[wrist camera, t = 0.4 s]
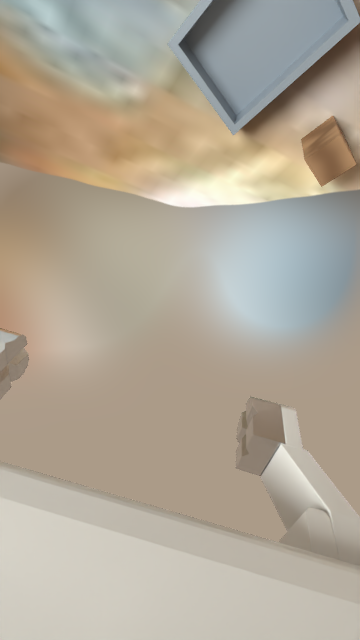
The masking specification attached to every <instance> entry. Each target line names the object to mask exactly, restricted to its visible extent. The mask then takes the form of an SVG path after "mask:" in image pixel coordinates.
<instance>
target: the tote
mask: <svg viewBox="0 0 360 640" xmlns="http://www.w3.org/2000/svg"><path fill="white" fill-rule="evenodd" d="M359 23H360V16H359V14H358V12H357V9H356V7H355V4H354V2H353V0H200V1H199V3H198V4H197V5H196V7H195V8H194V9H193V11H192V12H191V13H190V15H189V16H188V17H187V19H186V20H185V21H184V23H183V24H182V25H181V27H180V28H179V29H178V31H177V32H176V33H175V35H174V36H173V37H172V39H171V40H170V41H169V43H168V46H169V47H170V48H171V50H172V51H173V53H174V54H175V55H176V57H177V58H178V59H179V61H180V62H181V64H182V65H183V66H184V68H185V69H186V71H187V72H188V73H189V75H190V76H191V77H192V79H193V80H194V82H195V83H196V84H197V86H198V87H199V88H200V90H201V91H202V93H203V94H204V95H205V97H206V98H207V100H208V101H209V102H210V104H211V105H212V106H213V108H214V109H215V111H216V112H217V113H218V115H219V116H220V118H221V119H222V120H223V122H224V123H225V124H226V126H227V127H228V129H229V130H230V131H231V133H232V134H233V135H234V134H235V133H236V132H238V131H239V130H240V129H241V128H242V127H243V126H244V125H245V124H247V123H248V122H249V121H250V120H251V119H252V118H253V117H254V116H256V115H257V114H258V113H259V112H260V111H261V110H262V109H263V108H265V107H266V106H267V105H268V104H269V103H270V102H271V101H272V100H274V99H275V98H276V97H277V96H278V95H279V94H280V93H281V92H283V91H284V90H285V89H286V88H287V87H288V86H289V85H290V84H292V83H293V82H294V81H295V80H296V79H297V78H298V77H299V76H300V75H302V74H303V73H304V72H305V71H306V70H307V69H308V68H309V67H311V66H312V65H313V64H314V63H315V62H316V61H317V60H318V59H320V58H321V57H322V56H323V55H324V54H325V53H326V52H327V51H329V50H330V49H331V48H332V47H333V46H334V45H335V44H336V43H338V42H339V41H340V40H341V39H342V38H343V37H344V36H345V35H347V34H348V33H349V32H350V31H351V30H352V29H353V28H354V27H356V26H357V25H358V24H359Z"/></svg>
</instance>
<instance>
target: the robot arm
mask: <svg viewBox="0 0 360 640" xmlns="http://www.w3.org/2000/svg"><path fill="white" fill-rule="evenodd" d="M26 345H27V340H26V337H25V336H24V335H21V334H18V333H15V332H12V331H8V330H5V329H2V328H0V399H1V398H2V397H3V396H4V395H5V394H6V392H7V391H8V390H9V389H10V388H11V382H12V381H14V380H17V379H19V378H20V377H21V376H22V375H23V373H24V372H25V369H26V368H27V366H28V360H29V357H28V353H27V352H26V350H25V349H24V347H25V346H26ZM237 440H238V442H239V446H238V448H237V450H236V468H237V469H240V470H243V471H246V472H249V473H252V474H256V475H259V476H261V477H260V478H261V480H262V482H263V484H264V485H265V488H266V489H267V491H268V493H269V495H270V498H271V500H272V502H273V504H274V505H275V508H276V510H277V512H278V513H279V516H280V518H281V520H282V522H283V524H284V526H285V528H286V530H287V533H286V534H285V535H284V536H283V537H282V538H281V540H280V541H279V542H275V541H272V540H269V539H265V538H262V537H258V536H255V535H252V534H248V533H245V532H241V531H238V530H234V529H231V528H227V527H224V526H221V525H217V524H214V523H210V522H207V521H204V520H200V519H197V518H193V517H190V516H187V515H183V514H180V513H176V512H173V511H169V510H166V509H163V508H159V507H156V506H152V505H149V504H145V503H142V502H138V501H135V500H132V499H128V498H125V497H121V496H118V495H115V494H111V493H108V492H104V491H101V490H98V489H94V488H90V487H87V486H84V485H80V484H77V483H73V482H70V481H66V480H63V479H60V478H56V477H53V476H50V475H46V474H43V473H39V472H36V471H32V470H29V469H26V468H22V467H19V466H15V465H12V464H8V463H5V462H1V461H0V640H360V517H359V516H358V515H357V513H356V512H355V511H354V509H353V508H352V507H351V506H350V504H349V503H348V502H347V500H346V499H345V498H344V497H343V495H342V494H341V493H340V492H339V490H338V489H337V488H336V486H335V485H334V484H333V483H332V481H331V480H330V479H329V477H328V476H327V475H326V474H325V472H324V471H323V470H322V469H321V468H320V466H319V465H318V463H317V462H316V461H315V460H314V458H313V457H312V456H311V454H310V453H309V452H308V451H307V450H304V449H303V447H302V441H301V436H300V430H299V425H298V419H297V414H296V410H295V409H294V408H293V407H289V406H285V405H281V404H277V403H273V402H270V401H266V400H262V399H258V398H254V397H250V398H249V399H248V401H247V403H246V411H244V412H242V415H241V417H240V419H239V423H238V428H237Z"/></svg>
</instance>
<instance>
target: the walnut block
mask: <svg viewBox="0 0 360 640" xmlns="http://www.w3.org/2000/svg"><path fill="white" fill-rule="evenodd" d="M301 140H302V146H303V153H304V159H305V161H306V163H307V164H308V166H309V168H310V169H311V171H312V172H313V174H314V176H315V177H316V179H317V180H318V182H319V184H320V185H321V187H322V186H323V185H325V184H327V183H328V182H330V181H331V180H333V179H335V178H336V177H338V176H339V175H341V174H342V173H344V172H346V171H347V170H349V169H350V168H352V167H354V166H355V165H357V164H356V162H355V160H354V157H353V155H352V152H351V150H350V148H349V145H348V143H347V141H346V139H345V137H344V135H343V133H342V132H341V130H340V128H339V126H338V124H337V122H336V120H335V118H334V116H332V117H330V118H329V119H328V120H326V121H325V122H324V123H322V124H321V125H320V126H318V127H317V128H316V129H314V130H313V131H312V132H310V133H309V134H308V135H306V136H305V137H304V138H302V139H301Z"/></svg>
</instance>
